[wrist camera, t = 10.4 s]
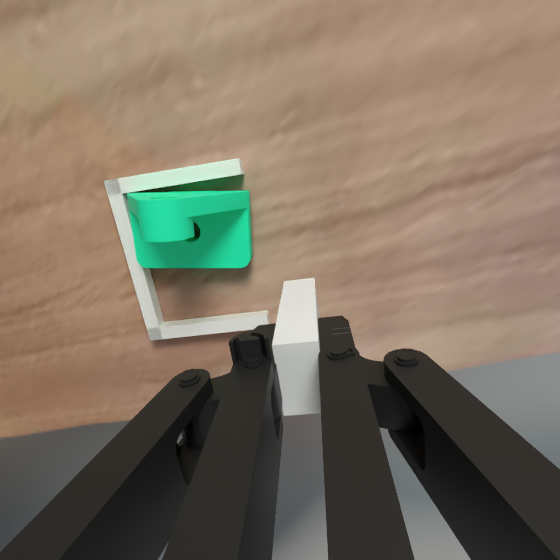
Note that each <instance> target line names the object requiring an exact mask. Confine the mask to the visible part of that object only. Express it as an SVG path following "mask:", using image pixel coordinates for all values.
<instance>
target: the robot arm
mask: <svg viewBox="0 0 560 560" xmlns="http://www.w3.org/2000/svg"><path fill="white" fill-rule="evenodd" d="M229 346H230V351H231V356H232V360H233V366H232V369H231V372H230V373H228V374H226V375H223V376H219V377H216V378H212V379H211V378H210V374H209V372H208V371H206V370H204V369H190V370H186V371H184V372H182V373H180V374H178V375H177V376H175V377H174V378H173V379H172V380H171V381H170V382H169V383H168V384H167V385H166V386H165V387H164V388H163V389H162V390H161V391H160V392H159V393H158V394H157V395H156V396H155V397H154V398H153V399H152V400H151V401H150V402H149V403H148V404H147V405H146V406H145V407H144V408H143V409H142V410H141V411H140V412H139V413H138V414H137V415H136V416H135V417H134V418H133V419H132V420H131V421H130V422H129V423H128V424H127V425H126V426H125V427H124V428H123V429H122V430H121V431H120V432H119V433H118V434H117V435H116V436H115V437H114V438H113V439H112V440H111V441H110V442H109V443H108V444H107V445H106V446H105V447H104V448H103V449H102V450H101V451H100V452H99V453H98V454H97V455H96V456H95V457H94V458H93V459H92V460H91V461H90V462H89V463H88V464H87V465H86V466H85V467H84V468H83V469H82V470H81V471H80V472H79V473H78V474H77V475H76V476H75V477H74V479H72V481H70V482H69V484H68V485H67V486H65V488H63V489H62V490H61V492H60V493H58V494H57V495H56V497H54V499H53V500H51V502H50V503H49V504H48V505H47V506H46V507H45V508H44V509H43V510H42V511H41V512H40V513H39V514H38V515H37V516H36V517H35V518H34V519H33V520H32V521H31V522H30V523H29V524H28V525H27V526H26V527H25V528H24V529H23V530H22V531H21V532H20V533H19V534H18V535H17V536H16V537H15V538H14V539H13V540H12V541H11V542H10V543H9V544H8V545H7V546H6V547H5V548H4V549H3V550H2V551H1V552H0V560H158V558H159V556H160V555H161V553H162V551H163V550H164V548H165V546H166V545H167V543H168V546H167V548H166V551H165V553H164V556H163V559H162V560H271V559H272V548H273V536H274V525H275V514H276V502H277V491H278V480H279V468H280V456H281V445H282V434H283V423H282V416H281V409H282V407H283V414H284V416H286V415H300V414H314V413H321V420H322V421H321V423H322V443H323V461H324V482H325V502H326V520H327V541H328V560H414V556H413V553H412V549H411V545H410V541H409V538H408V534H407V530H406V527H405V523H404V519H403V515H402V511H401V508H400V504H399V500H398V497H397V493H396V489H395V485H394V481H393V478H392V474H391V470H390V467H389V463H388V459H387V455H386V452H385V448H384V444H383V440H382V437H381V433H380V429H379V427H380V428H386V429H388V432H389V435H390V437H391V438H392V440H393V442H394V443H395V444H396V446H397V448H398V449H399V451H400V452H401V454H402V455H403V457H404V458H405V460H406V461H407V463H408V464H409V466H410V467H411V468H412V470H413V472H414V473H415V475H416V477H417V478H418V480H419V481H420V483H421V484H422V486H423V487H424V489H425V490H426V492H427V493H428V495H429V496H430V498H431V499H432V501H433V502H434V504H435V505H436V507H437V508H438V510H439V511H440V513H441V514H442V516H443V518H444V519H445V521H446V522H447V524H448V525H449V527H450V528H451V530H452V531H453V533H454V534H455V536H456V537H457V539H458V540H459V542H460V543H461V545H462V546H463V548H464V549H465V551H466V552H467V554H468V556H469V557H470V559H471V560H560V469H559V468H557V467H556V466H555V465H554V464H553V463H552V462H551V461H549V460H548V459H547V458H546V457H545V456H544V455H542V454H541V453H540V452H539V451H538V450H537V449H535V448H534V447H533V446H532V445H531V444H530V443H528V442H527V441H526V440H525V439H524V438H523V437H521V436H520V435H519V434H518V433H517V432H516V431H514V430H513V429H512V428H511V427H510V426H509V425H507V424H506V423H505V422H504V421H503V420H502V419H500V418H499V417H498V416H497V415H496V414H495V413H493V412H492V411H491V410H490V409H489V408H487V407H486V406H485V405H484V404H483V403H482V402H481V401H479V400H478V399H477V398H476V397H475V396H474V395H472V394H471V393H470V392H469V391H468V390H467V389H466V388H464V387H463V386H462V385H461V384H460V383H458V382H457V381H456V380H455V379H454V378H453V377H452V376H450V375H449V374H448V373H447V372H446V371H445V370H443V369H442V368H441V367H440V366H439V365H438V364H436V363H435V362H434V361H433V360H432V359H431V358H429V357H428V356H427V355H426V354H424V353H422V352H420V351H417V350H413V349H398V350H394V351H391V352H389V353H388V354H386V355H385V357H384V362H381V361H373V360H369V359H365V358H363V357H361V356H360V355H359V352H358V350H357V349H356V348H355V345H354V341H353V337H352V333H351V330H350V326H349V322H348V320H347V319H345V318H344V317H343V316H334V317H325V318H319V312H318V303H317V295H316V287H315V279H314V278H309V279H300V280H292V281H284V285H283V291H282V296H281V301H280V306H279V311H278V316H277V321H276V323H275V324H266V325H258V326H257V327H256V328H255V329H254V330H253V331H250V332H245V333H242V334H239V335H237V336H235V337H233V338H232V339H231V340H230V341H229ZM180 433H182V437H183V438H182V439H181V441H180V442H179V443H178V444H177V439H178V437H179V435H180ZM168 541H169V542H168Z"/></svg>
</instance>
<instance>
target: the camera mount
mask: <svg viewBox="0 0 560 560" xmlns="http://www.w3.org/2000/svg"><path fill="white" fill-rule="evenodd" d="M127 200H128V206H129V213H130V219H131V226H132V233H133V239H134V246H135V252H136V259H137V261H138V263H139V264H140V265H141V266H142V267H144V268H243V267H245V266H247V265H248V264H249V262H250V260H251V258H252V237H251V217H250V196H249V190H248V191H171V192H141V193H129V194H127ZM193 222H195V223H196V224H197V225H198V226H199V228H200V237H199V238H197V237H194V236H195V234H194V223H193Z"/></svg>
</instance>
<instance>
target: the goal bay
mask: <svg viewBox="0 0 560 560" xmlns="http://www.w3.org/2000/svg"><path fill="white" fill-rule="evenodd" d="M241 174H244V169H243V164H242V158H237V159H231V160H225V161H219V162H213V163H207V164H201V165H195V166H190V167H184V168H178V169H172V170H166V171H160V172H154V173H148V174H142V175H136V176H130V177H124V178H118V179H112V180H106V181H104V183H105V187H106V190H107V194H108V197H109V201H110V204H111V208H112V211H113V214H114V218H115V221H116V225H117V228H118V232H119V235H120V238H121V242H122V245H123V249H124V252H125V256H126V259H127V263H128V266H129V269H130V273H131V276H132V280H133V283H134V287H135V290H136V293H137V297H138V300H139V304H140V307H141V311H142V314H143V318H144V321H145V324H146V328H147V331H148V335H149V338H150V340H160V339H169V338H178V337H188V336H197V335H206V334H216V333H225V332H234V331H244V330H253V329H255V328H256V327H257V326H258V325H266V324H270V317H269V311H268V310H265V311H256V312H247V313H238V314H229V315H221V316H212V317H203V318H194V319H185V320H176V321H167V322H164V319H163V315H162V312H161V308H160V304H159V301H158V297H157V294H156V290H155V286H154V283H153V279H152V275H151V272H150V268H144V267H142V266H141V265H140V264H139V263H138V261H137V259H136V252H135V246H134V239H133V233H132V226H131V219H130V213H129V206H128V200H127V194H129V193H130V192H136V191H142V190H148V189H154V188H160V187H167V186H173V185H179V184H185V183H191V182H198V181H204V180H210V179H216V178H222V177H229V176H235V175H241Z"/></svg>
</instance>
